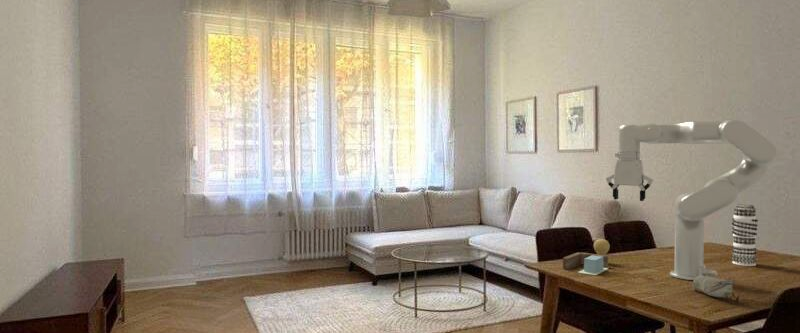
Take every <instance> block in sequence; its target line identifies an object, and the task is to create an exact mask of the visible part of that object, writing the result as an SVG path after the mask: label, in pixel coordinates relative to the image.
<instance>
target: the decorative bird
mask: <svg viewBox="0 0 800 333" xmlns="http://www.w3.org/2000/svg"><path fill="white" fill-rule="evenodd" d="M692 281H693V282H692V288H693V290H694V292H698V291H699V290H701V291H702V292H704V294H706V295H708V296H709V297H715V298H726V299H727V300H726V303H727V304H730V303H732V297H733V298H735V299H734V300H733V302H735V303H737V302H738V303H740V295H738V296H737V297H736V295H735V293H733V284H736V283H738V281H737V280H732V279H723V278H719V277H716V276H708V277H706V276H703V275H700V276H697V277H696V278H695V279H694V280H692ZM729 295H732V296H730V297H728V296H729Z"/></svg>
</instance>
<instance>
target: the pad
mask: <svg viewBox="0 0 800 333" xmlns="http://www.w3.org/2000/svg"><path fill="white" fill-rule="evenodd" d="M608 270H609V267H603V269H602V270H601V271H599V272H597V273H592V272H585V271H584V268H583V269H581V270H580V271H577V273H579V274H582V275H584V274H585V275H590V276H591V275H592V276H597V275H599V274H602V273H603V272H605V271H608Z"/></svg>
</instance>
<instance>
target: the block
mask: <svg viewBox="0 0 800 333" xmlns="http://www.w3.org/2000/svg"><path fill="white" fill-rule="evenodd" d="M583 269H584V271H585V272H592V273H597V272H599V271H601V270H602V269H603V257H602V256H594V255H591V256H589V257H587V258H585V259H584V264H583Z"/></svg>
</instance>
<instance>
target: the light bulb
mask: <svg viewBox="0 0 800 333" xmlns="http://www.w3.org/2000/svg"><path fill="white" fill-rule="evenodd" d="M610 247H611V245H610V243H609V241H608V240H606V239H604V238H599V239H596V240H595V241H594V243H593V249H594V252H596V254H597V255H605V256H607V255H606V254H607V253H608V252H609V251H610Z"/></svg>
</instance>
